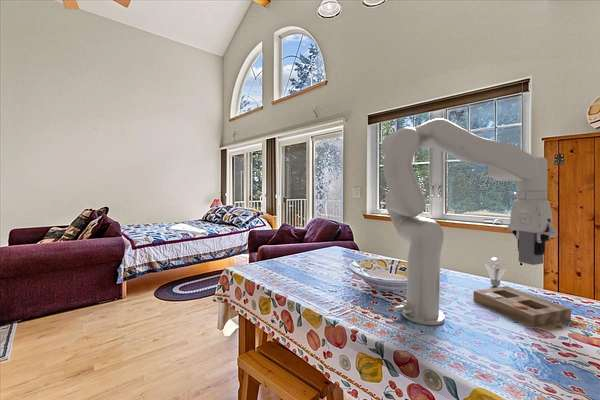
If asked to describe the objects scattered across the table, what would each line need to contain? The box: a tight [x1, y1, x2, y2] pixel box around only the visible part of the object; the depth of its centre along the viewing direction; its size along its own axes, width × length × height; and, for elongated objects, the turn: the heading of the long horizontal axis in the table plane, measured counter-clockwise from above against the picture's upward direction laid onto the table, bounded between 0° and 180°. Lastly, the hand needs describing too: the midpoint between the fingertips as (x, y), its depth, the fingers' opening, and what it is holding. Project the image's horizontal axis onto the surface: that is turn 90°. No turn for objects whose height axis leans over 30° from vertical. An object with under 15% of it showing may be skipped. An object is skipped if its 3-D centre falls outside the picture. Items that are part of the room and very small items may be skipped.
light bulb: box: [485, 257, 507, 288], centre depth 114 cm, size 7×7×12 cm
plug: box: [518, 231, 544, 266], centre depth 90 cm, size 4×4×15 cm
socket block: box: [473, 285, 572, 328], centre depth 93 cm, size 16×20×4 cm
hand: (530, 252), depth 90 cm, fingers closed on plug, 4 cm apart
